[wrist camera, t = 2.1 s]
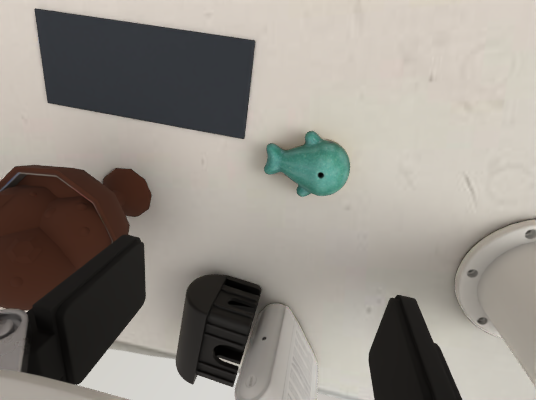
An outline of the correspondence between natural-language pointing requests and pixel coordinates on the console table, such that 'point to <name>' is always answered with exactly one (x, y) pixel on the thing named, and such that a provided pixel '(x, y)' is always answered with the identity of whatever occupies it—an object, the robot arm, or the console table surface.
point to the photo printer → (278, 360)
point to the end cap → (215, 327)
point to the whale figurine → (311, 165)
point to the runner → (146, 72)
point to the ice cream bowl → (59, 225)
